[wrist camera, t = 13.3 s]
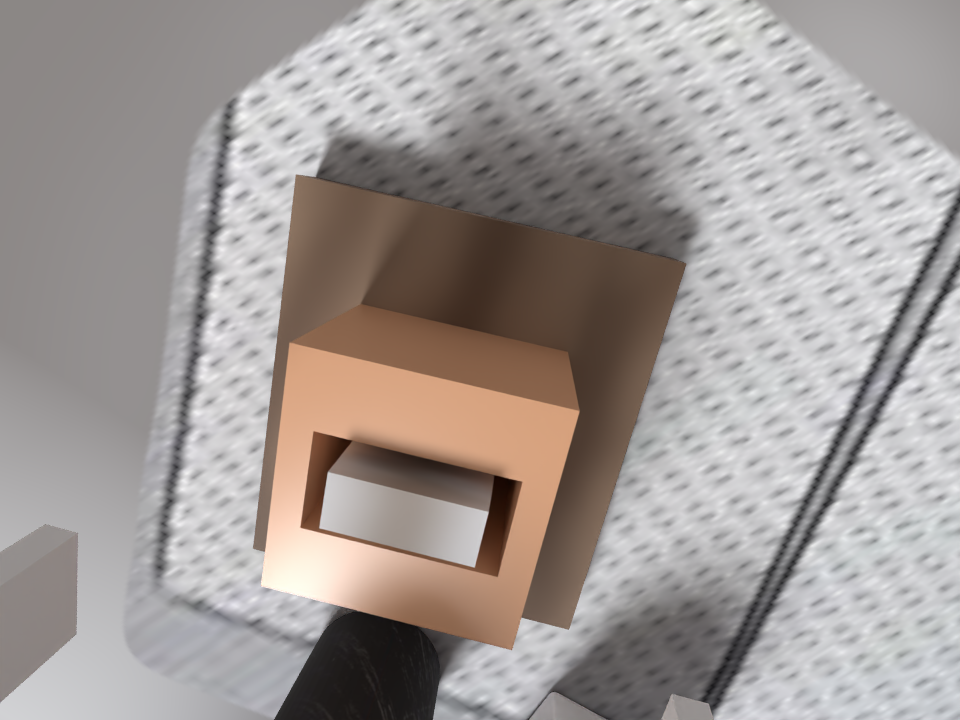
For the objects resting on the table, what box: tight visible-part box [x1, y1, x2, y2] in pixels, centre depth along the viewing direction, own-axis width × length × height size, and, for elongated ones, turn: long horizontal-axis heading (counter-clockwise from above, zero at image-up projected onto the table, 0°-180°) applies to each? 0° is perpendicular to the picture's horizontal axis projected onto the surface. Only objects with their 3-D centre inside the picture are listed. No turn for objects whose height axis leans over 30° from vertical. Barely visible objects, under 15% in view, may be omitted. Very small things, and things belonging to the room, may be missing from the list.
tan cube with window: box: [261, 304, 580, 650], centre depth 21 cm, size 9×9×7 cm
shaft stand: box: [253, 175, 686, 630], centre depth 22 cm, size 16×18×10 cm
